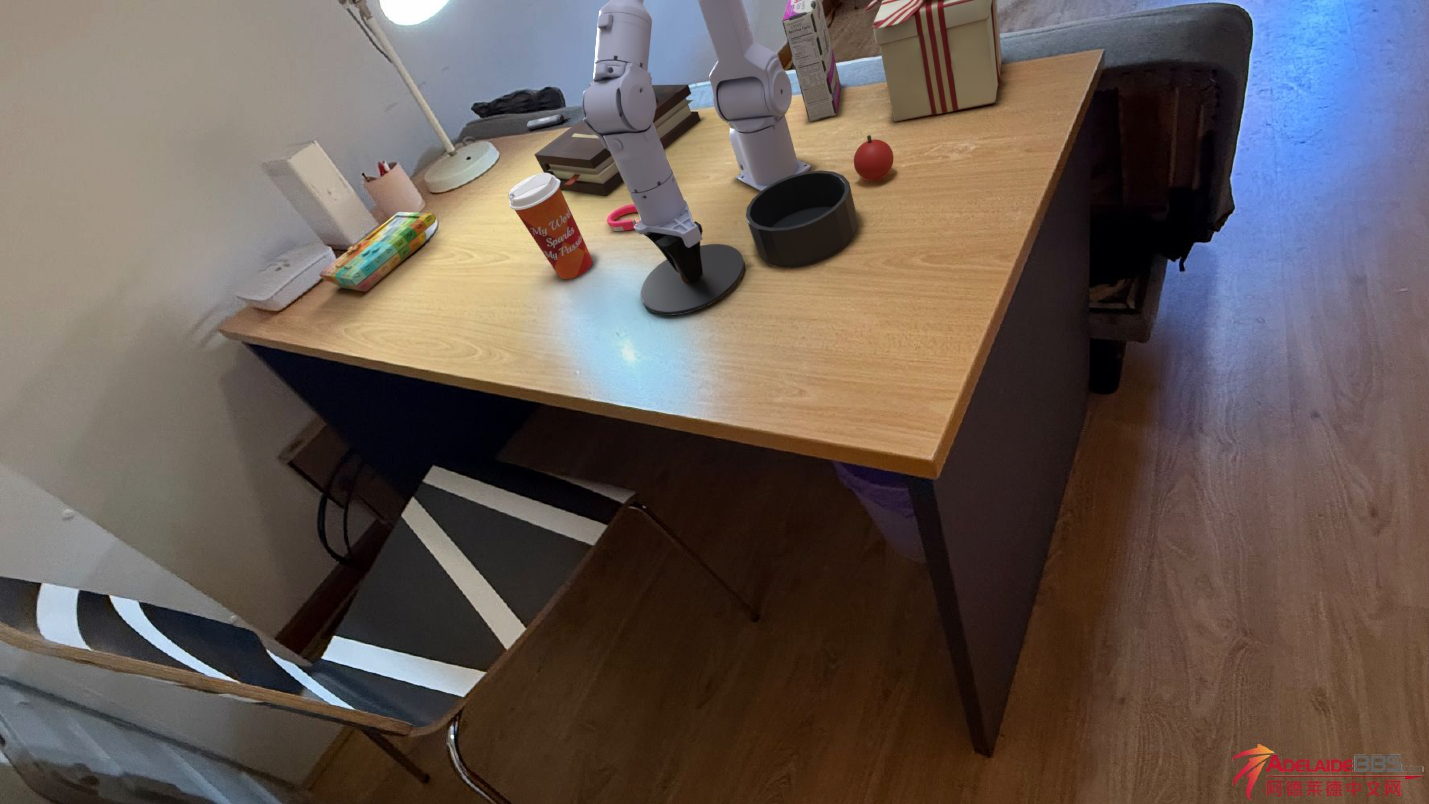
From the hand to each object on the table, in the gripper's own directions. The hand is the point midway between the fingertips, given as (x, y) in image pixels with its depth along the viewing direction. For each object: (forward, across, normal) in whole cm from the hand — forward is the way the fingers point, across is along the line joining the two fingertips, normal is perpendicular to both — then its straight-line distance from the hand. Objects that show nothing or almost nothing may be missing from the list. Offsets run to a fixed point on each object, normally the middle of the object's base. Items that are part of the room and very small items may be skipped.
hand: (689, 273), depth 93 cm
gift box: (+2, -8, +49) cm, 50 cm away
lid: (+1, 0, 0) cm, 1 cm away
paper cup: (+2, -21, -10) cm, 23 cm away
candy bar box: (+2, -25, +40) cm, 47 cm away
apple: (-1, +2, +29) cm, 29 cm away
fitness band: (+2, -25, +2) cm, 25 cm away
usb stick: (+2, -88, +8) cm, 88 cm away
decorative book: (+2, -50, +12) cm, 51 cm away
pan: (+2, +5, +15) cm, 16 cm away
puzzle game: (+2, -63, -35) cm, 72 cm away
